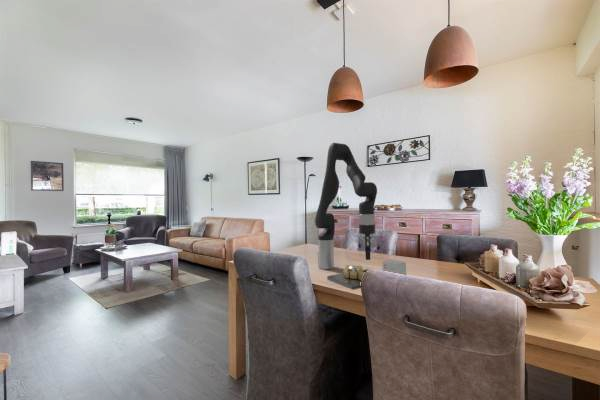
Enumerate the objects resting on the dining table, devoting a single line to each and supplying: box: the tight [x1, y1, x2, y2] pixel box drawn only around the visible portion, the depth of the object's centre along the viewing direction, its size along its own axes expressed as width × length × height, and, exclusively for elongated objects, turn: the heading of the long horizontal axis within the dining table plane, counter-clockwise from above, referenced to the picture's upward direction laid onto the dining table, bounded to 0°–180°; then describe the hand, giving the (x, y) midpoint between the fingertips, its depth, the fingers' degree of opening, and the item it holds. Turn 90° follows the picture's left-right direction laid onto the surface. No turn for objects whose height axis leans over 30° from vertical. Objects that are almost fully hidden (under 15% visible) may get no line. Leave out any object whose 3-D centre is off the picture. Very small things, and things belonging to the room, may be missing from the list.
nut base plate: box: [326, 265, 361, 290], centre depth 132 cm, size 18×17×6 cm
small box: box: [382, 259, 407, 276], centre depth 116 cm, size 8×6×13 cm
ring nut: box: [342, 265, 369, 280], centre depth 131 cm, size 18×10×4 cm, turn 32°
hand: (368, 259), depth 126 cm, fingers closed
